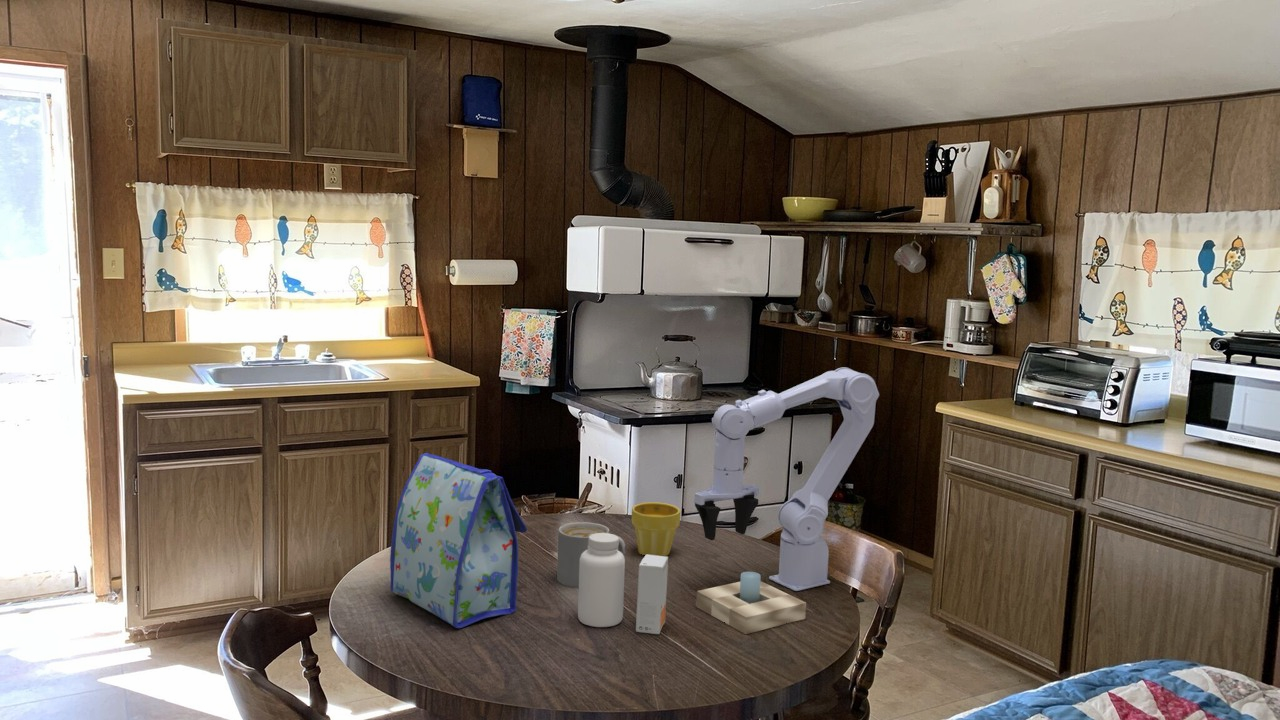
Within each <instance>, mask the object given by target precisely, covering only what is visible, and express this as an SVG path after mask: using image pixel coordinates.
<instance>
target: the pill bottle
mask: <svg viewBox="0 0 1280 720" xmlns="http://www.w3.org/2000/svg"><path fill="white" fill-rule="evenodd" d="M618 537H619V535H616V534H614V533H613V534H612V533H610V532H609V533H595V534H592V535H590V536H589V538H588V550H586V551H584V552H583V553H582V554H581V557H580V564H579V588H578V597H577V600H578V601H577V603H578V604H577V618H578V620H579V622H581V624H584V625H586V626H589V627H595V628H608V627H614V626H616V625H619V624H620V623H621V622H622V621H623V616H624V601H625V600H624V599H625V598H624V595H625V570H626V559H625V556H623V554H622V553H621V552H620V551H619V550H618V546H619V538H618Z"/></svg>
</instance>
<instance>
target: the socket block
mask: <svg viewBox="0 0 1280 720" xmlns="http://www.w3.org/2000/svg"><path fill="white" fill-rule="evenodd" d="M695 598H696V601H695V602H696V603H695V607H696V608H698V609H699V610H701V611H702V612H705V613H706V614H708V615H709V616H712V617H714V618H716V619H718V621H721V622H722V623H724V622H725V623H724V624H726V625H728V626H730V627H732V628H733V629H735V630H737V631H738V632H741V633H742V634H745V635H748V634H752V633H756V632H759V631H763V630H767V629H771V628H774V627H780V626H782V625H787V624H790V623H794V622H797V621H798V622H799V621H802V620H805V619H806V616H807V615H806V611H807V602H806V601H803V600H801V599H799V598H797V597H795V596H793V595H791V594H788V593H786V592H785V591H782V590H780V589H778V588H776V587H774V586H772V585H770V584H768V583H765V582H763V581H762V580H761V581H760V600H759V602H756V603H751V604H749V603H747V602H745V601H743V600H741V599H740V581H737V582H732V583H728V584H723V585H718V586H714V587H709V588H704V589H701V590H696V597H695ZM786 623H787V624H786Z"/></svg>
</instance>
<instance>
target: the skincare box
mask: <svg viewBox="0 0 1280 720" xmlns="http://www.w3.org/2000/svg"><path fill="white" fill-rule="evenodd" d="M668 569H669V556H656V555H648V554H646V555H645V556H644V557H643V558H642V559H641V561H640V563H639V565H638V575H637V576H638V579H637V599H636V600H637V601H636V616H635V617H636V618H635V619H636V621H635V632H637V633H643V634H652V635H660V633H661V631H662V628H663V626H664V625H665V622H666V613H667V612H666V611H667V609H666V608H667V590H668V589H667V587H668V571H669V570H668Z"/></svg>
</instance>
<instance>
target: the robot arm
mask: <svg viewBox="0 0 1280 720" xmlns="http://www.w3.org/2000/svg"><path fill="white" fill-rule="evenodd" d="M879 397H880V392H879V390H878V387H877V384H876V381H875V379H874V378H873V377H872V376H870V375H869V374H866V373H862V372H859V371H856V370H853V369H851V368H849V367H846V366H845V367H839V368H836V369H835V370H828V371H826V372H824V373H822V374H821V375H818V376H815V377H814V378H812V379H809V380H807V381H804V382H803V383H799V384H797V385H796V386H795V385H794V386H793V387H791V388H789V389H786V390H784V391H781V392H780V393H777V392H775V391H773V390H768V391H766V390H765V389H761V390H758V391H757V395H754V396H751V397H749V398H746V399H744V400H741V399H737V400H735V405H734V404H724V405H720V407H718V408H717V410H715V412H714V415H713V417H712V418H711V422H712V426H713V428H714V429H715V441H714V442H715V443H714V451H713V452H714V453H713V454H714V455H713V476H712V477H713V478H712V479H713V480H712V485H711V488H708V489H705V490H702V491H699V492H695V493H694V501H693V502H694V506H695V508H696V510H697V513H698V514H699V517H700V520H701V523H702V528H703V533H704V538H705V539H707V540H709V541H715V538H716V533H717V522H718V518H719V515H720V511H721V507H719V506H717V505H716V503H715V502H722V501H727V500H728V501H729V500H733V506H734V512H735V515H734V517H735V520H734V523H735V524H734V528H735V529H734V530H735V533H738V534H740V535H746V532H747V528H748V525H749V523H750V519H751V517H752V515H753V513H754V511H755V509H756V508H757V507H758V505H759V499H758V498H756V497H759V494H760V486H758V485H755V484H744V465H745V462H744V461H745V449H746V448H745V438H746V435H747V434H748V433H749V431H750V430H753V429H756V428H758V427H761V426H764V425H766V424H770V423H772V422H774V421H776V420H779V419H781V418H782V417H783V415H784V413H785V411H786V410H789V409H790V408H794V407H797V406H800V405H803V404H806V403H809V402H812V401H815V400H818V399H821V398H826V399H827V398H828V399H832V400H835V401H836V402H837V403H838V405H839V408H840V411H841V414H842V416H843V421H842V423H841V424H840V425H839V428H838V430H837V431H836V433H835V434H834V436H833V438H832V440H831V441H830V442H829V444H828V446H827V448H826V450H825V451H824V453H823V455H822V456H821V458H820V460H819V461H818V463H817V464H816V466H815V467H814V470H813V471H812V473H811V475H810V476H809V478H808V480H807V482H806V483H805V485H803V487H802V488H800V489H798V490H796V491H795V492H794V493H793V495H791V498H789V499H788V500H787V501H785V502H784V503H783V504H782V505H781V506H780V508H779V509H778V512H777V520H778V523H779V525H780V526H781V527H782V531H781V533H780V544H779V545H780V546H779V547H780V548H779V561H778V563H779V565H778V574H774V575H770V576H769V577H768V578H769V580H770V581H772V582H775V583H776V584H779V585H781V586H784V587H785V588H788V589H790V590H792V591H795V592H798V591H803V590H807V589H811V588H815V587H819V586H823V585H824V586H825V585H828V584H831V581H830V580H829V579H828V571H829V569H828V568H829V555H830V552H829V550H830V549H829V546H828V544H827V542H826V540H825V539H824V538H823V537H821V536H822V534H823V531H824V526H825V525H824V524H825V521H826V519H827V517H828V515H829V504H828V503H829V501H830V498H831V497H832V495H833V493H834V492H835V490H836V488H837V487H838V485H839V483H840V482H841V480H842V479H843V477H844V475H845V474H846V472H847V471H848V468H849V467H850V465H851V464H852V462H853V460H854V459H855V457H856V455H857V453H858V452H859V450H860V449H861V447H862V445H863V443H864V442H865V440H866V438H867V437H868V435H869V434H870V432H871V430H872V428H873V427H874V424H875V415H876V403H877V401H878V398H879ZM743 484H744V485H743Z"/></svg>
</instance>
